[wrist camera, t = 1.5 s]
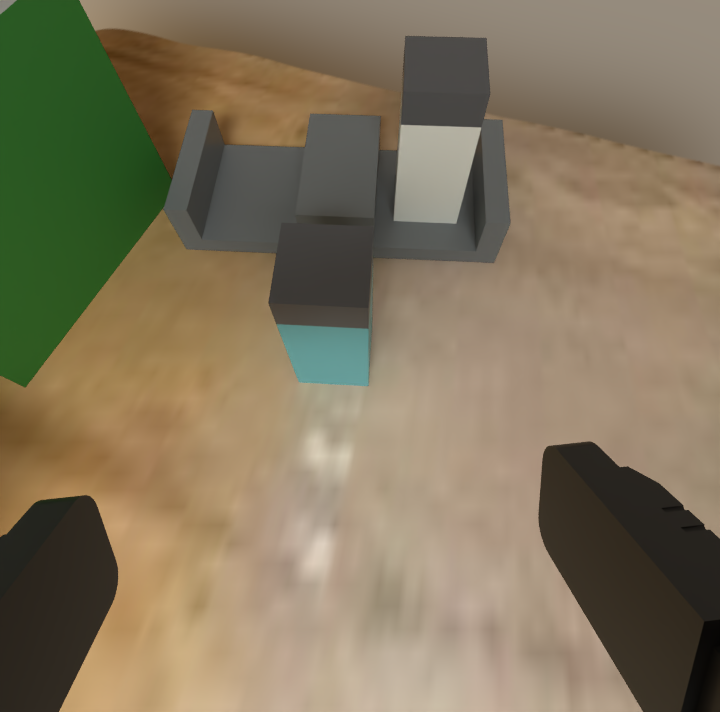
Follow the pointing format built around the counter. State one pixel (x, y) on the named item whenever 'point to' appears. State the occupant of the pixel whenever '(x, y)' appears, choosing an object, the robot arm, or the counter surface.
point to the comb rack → (327, 191)
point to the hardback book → (63, 177)
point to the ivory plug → (439, 125)
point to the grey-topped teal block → (325, 300)
